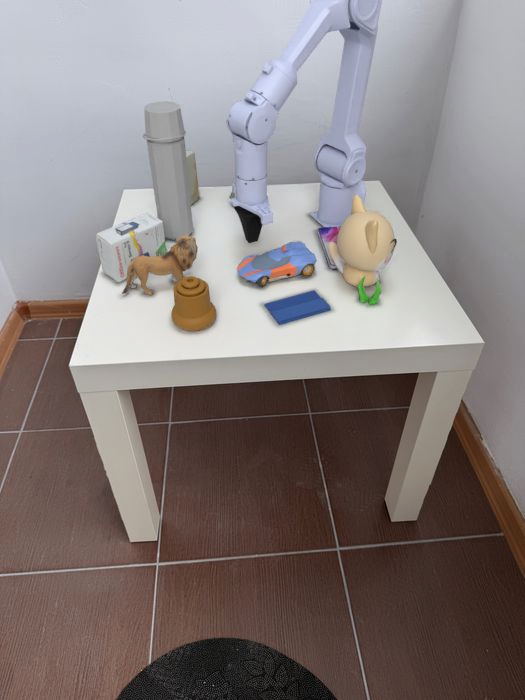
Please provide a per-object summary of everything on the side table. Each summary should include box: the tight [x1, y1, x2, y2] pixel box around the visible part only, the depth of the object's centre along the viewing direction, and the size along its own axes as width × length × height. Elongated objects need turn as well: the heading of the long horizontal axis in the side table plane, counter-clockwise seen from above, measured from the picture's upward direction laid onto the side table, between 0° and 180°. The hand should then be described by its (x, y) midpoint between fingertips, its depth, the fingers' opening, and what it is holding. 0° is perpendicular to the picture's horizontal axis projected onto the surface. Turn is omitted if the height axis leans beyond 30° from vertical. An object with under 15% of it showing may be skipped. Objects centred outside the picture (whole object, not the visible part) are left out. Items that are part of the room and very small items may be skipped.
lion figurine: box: [121, 235, 199, 296], centre depth 90 cm, size 15×5×9 cm, turn 116°
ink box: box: [95, 212, 168, 283], centre depth 95 cm, size 9×5×12 cm
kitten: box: [328, 195, 398, 306], centre depth 89 cm, size 15×10×15 cm
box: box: [186, 149, 200, 206], centre depth 115 cm, size 5×4×11 cm
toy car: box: [236, 241, 317, 288], centre depth 95 cm, size 8×15×5 cm, turn 114°
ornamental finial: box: [170, 275, 217, 332], centre depth 83 cm, size 8×8×8 cm
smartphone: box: [316, 226, 347, 270], centre depth 103 cm, size 7×1×15 cm
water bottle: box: [142, 100, 194, 241], centre depth 99 cm, size 9×8×25 cm
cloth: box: [264, 289, 332, 326], centre depth 88 cm, size 10×6×1 cm, turn 115°
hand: (252, 240), depth 100 cm, fingers closed
